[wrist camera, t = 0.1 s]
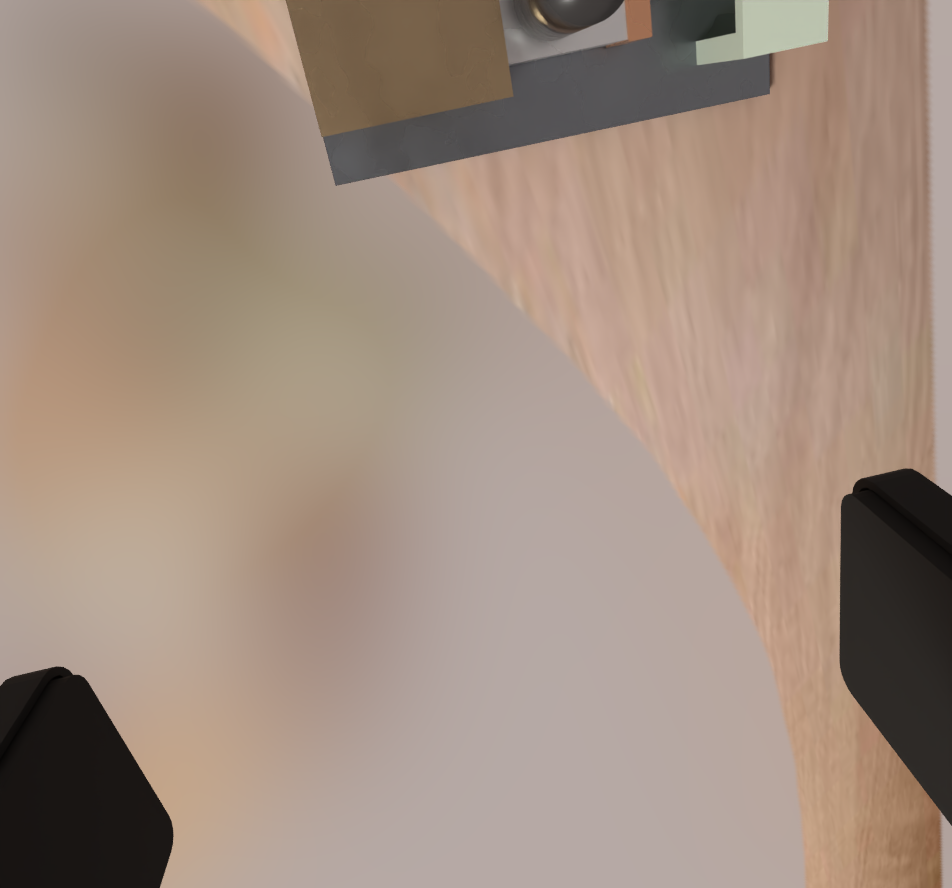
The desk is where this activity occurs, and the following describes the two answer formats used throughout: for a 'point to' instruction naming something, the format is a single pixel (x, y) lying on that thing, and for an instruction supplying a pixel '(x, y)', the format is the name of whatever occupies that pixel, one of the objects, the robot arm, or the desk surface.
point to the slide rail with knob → (493, 80)
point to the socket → (767, 29)
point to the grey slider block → (570, 26)
